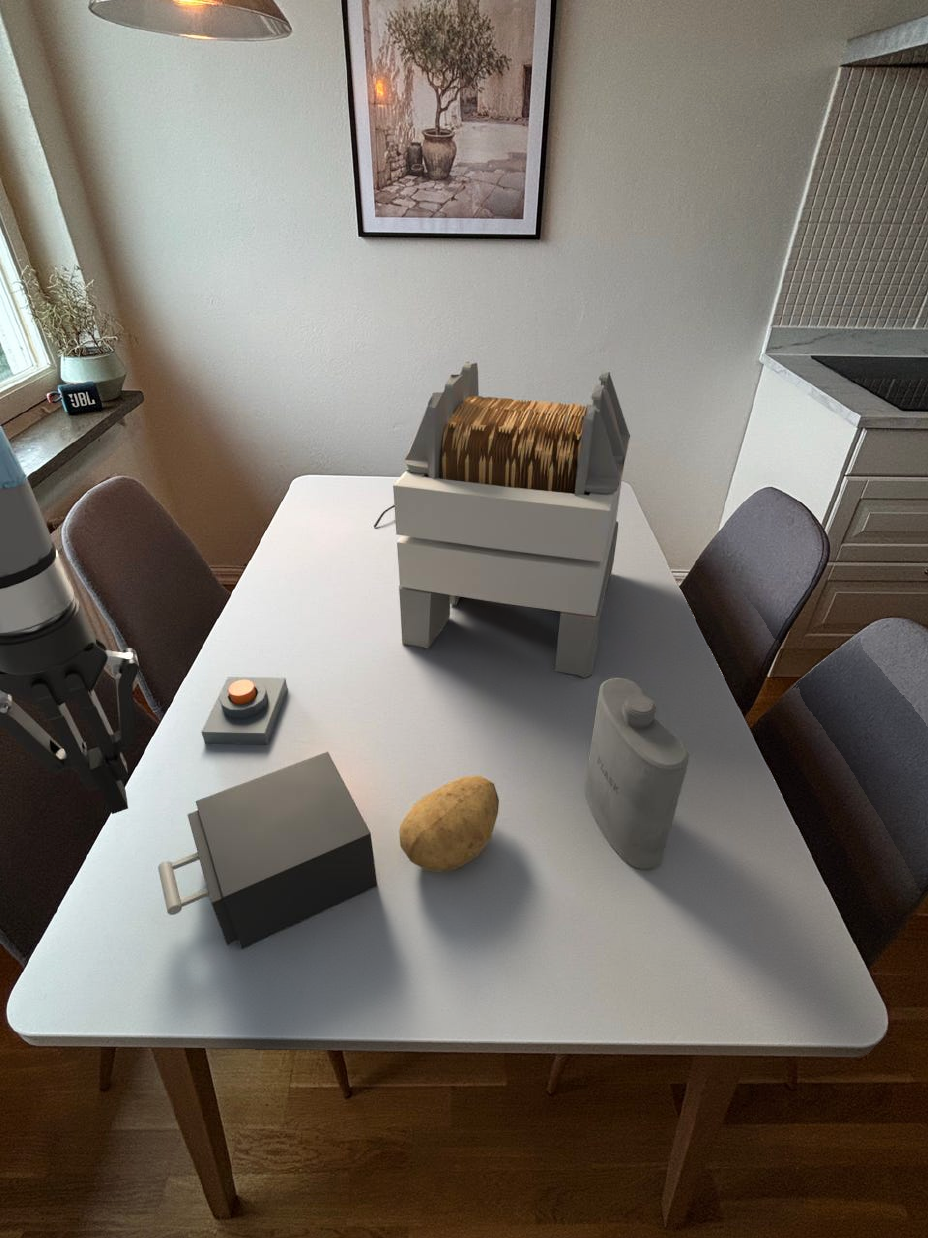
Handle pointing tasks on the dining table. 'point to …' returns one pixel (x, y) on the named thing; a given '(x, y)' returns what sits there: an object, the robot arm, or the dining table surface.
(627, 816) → the flask
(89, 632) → the robot arm
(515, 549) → the transformer
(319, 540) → the dining table surface
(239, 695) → the button
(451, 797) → the potato
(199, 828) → the drawer
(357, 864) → the dark grey drawer cabinet
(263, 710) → the control block
